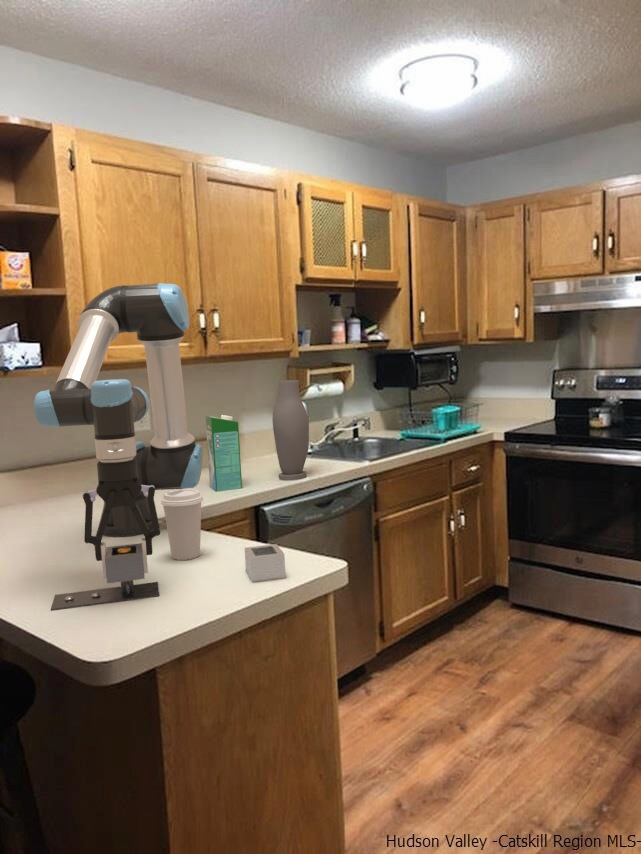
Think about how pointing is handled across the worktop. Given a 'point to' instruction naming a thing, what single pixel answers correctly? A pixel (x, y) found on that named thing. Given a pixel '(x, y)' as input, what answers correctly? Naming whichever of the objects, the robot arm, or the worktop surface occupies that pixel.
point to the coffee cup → (183, 522)
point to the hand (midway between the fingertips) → (125, 573)
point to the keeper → (106, 593)
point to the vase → (290, 431)
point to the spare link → (265, 562)
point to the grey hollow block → (124, 564)
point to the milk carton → (223, 453)
